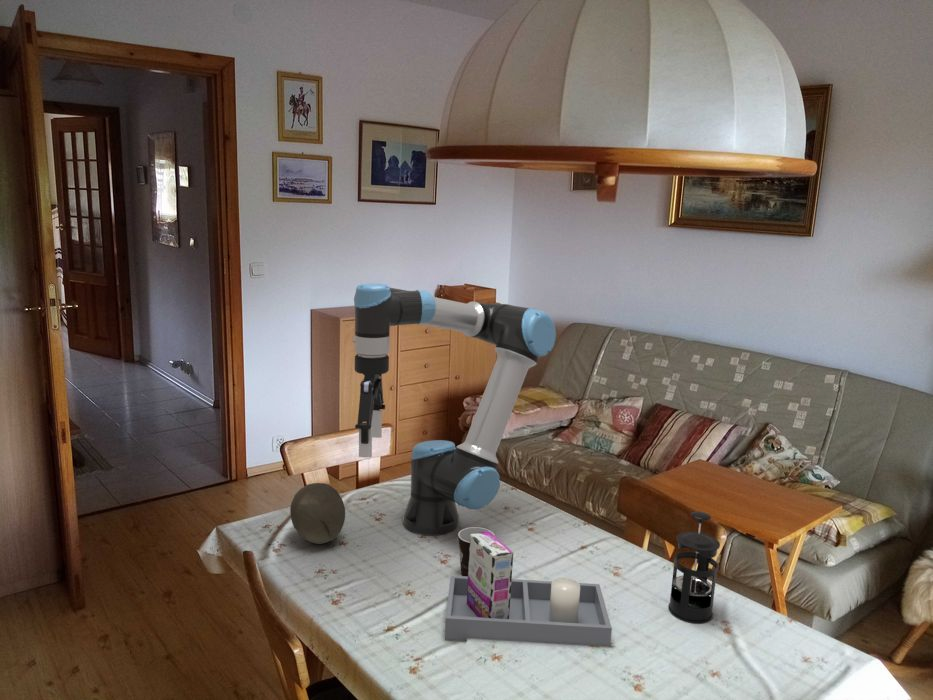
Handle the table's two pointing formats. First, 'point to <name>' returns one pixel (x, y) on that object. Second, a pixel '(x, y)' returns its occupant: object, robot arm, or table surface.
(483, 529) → the coffee mug
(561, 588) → the cream cylinder
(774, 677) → the table surface
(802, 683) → the table surface
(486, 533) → the candy bar box
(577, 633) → the grey divided tray
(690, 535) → the french press
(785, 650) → the table surface
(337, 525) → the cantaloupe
